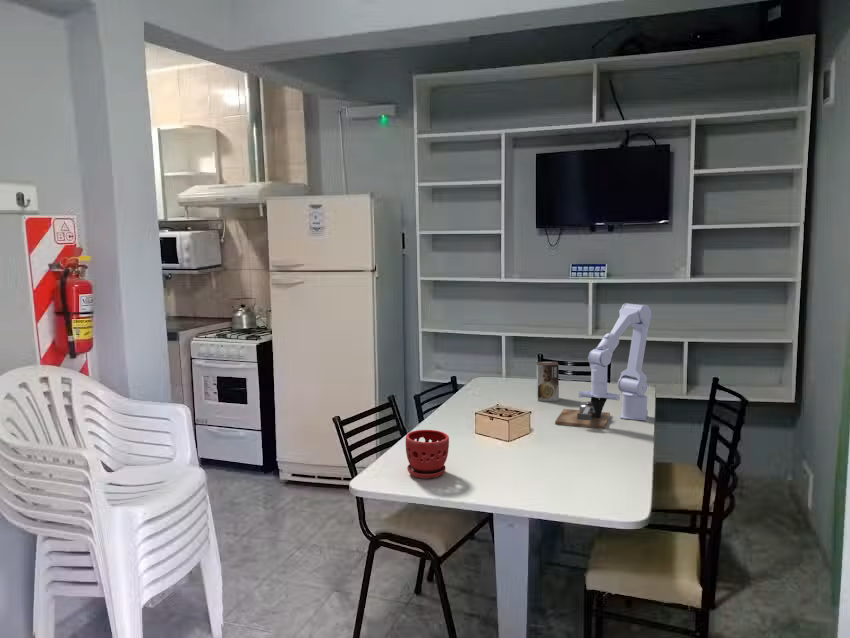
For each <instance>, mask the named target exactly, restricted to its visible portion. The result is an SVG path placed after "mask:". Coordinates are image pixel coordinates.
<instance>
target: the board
mask: <svg viewBox="0 0 850 638" xmlns="http://www.w3.org/2000/svg"><path fill="white" fill-rule="evenodd" d="M578 413H580V409H571V408H570V409H569V408H563V409H562V410H561V412H560V413H559V415H558V416H557V418H556V419H555V420H554V422H555V423H554V425H558V426H569V427H579V428H591V429H597V430H599V429H600V430H605V428H606V427H607V423H608V422H609V419H610V415H611V413H610V412H608V411H607V412H605V411H602V412H601V418H596V417H592V420H580V419H577V414H578Z"/></svg>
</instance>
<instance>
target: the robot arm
mask: <svg viewBox="0 0 850 638" xmlns="http://www.w3.org/2000/svg"><path fill="white" fill-rule="evenodd" d="M618 312H619V316H618V319H617V320H616V322H615V324H614V326H613V327H612V329H611V331H610V332H607V333H606V334H604V335H603V337H602V339H601V341H600V342H599V343H598V345H597V346H596V347H595V348H594V349H592V350H590V351H589V353H588V356H587V360H588V363H589V368H590V369H591V371H590V373H591V374H590V391H586V390H585V391H582V390H581V391H578V398H587V399H588V398H589V399H590V402H591V403H592V405H593V407H594V410H595V413H596V418H601V412H603V408H604V407H605V404H606V402H607V400H613V401H618V402H619V401H620V400H621V398H620V395H621V396H622V400H621V413H620V416H619V418H620V419H622V420H623V419H626V420H635V421H646V420H647V418H648V414H649V413H648V411H649V410H648V395H645V394H646V393H647V390H648V383H647V380H648V377H647V375H646V374H645V373H644V372H643V371H642V370H643V369H642V368H643V364H644V356H645V350H646V346H647V345H646V344H647V340H648V339H647V338H648V331H649V327H650V324H651V318H652V310H651V308H650V306H649V305H647V304H635V303H629V302H625V303H623V304H622V306H621V308H620V309H619V311H618ZM629 326H631V327H632V335H631V341H630V348H629V354H628V360H627V366H626V367H627V368H626V369H624V370H623V371H621V372H620V376H619V379H618V380H617V388H618V390H619V391H620V394H619V393H618V394H617V393H613V392H608V367H609V366H608V365H610V364H611V362H612V357H613V354H614V353H613V352H614V351H615V349H616V348H617V347H618V345H619V344H620V339H619V338H620V337H621V336H622V334H623V333H624V332H625V331H626V329H627V328H628V327H629Z"/></svg>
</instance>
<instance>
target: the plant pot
mask: <svg viewBox="0 0 850 638" xmlns="http://www.w3.org/2000/svg"><path fill="white" fill-rule="evenodd" d="M421 438H423V439H424V441H420V439H421ZM430 440H431V441H430ZM449 446H450V437H449V435H448V434H447V433H445V432H443V431H440V430H434V429H418V430H413V431H410V432H408V433H407V434H406V435H405V453H406V458H407V461H408V465H407V466H406V470H407V472H408V473H409V474H410V475H412V476H413V477H415V478H419V479H434V478H438V477H440V476H442V475H443V474H444V473H445V471H446V466H445V463H446V461H447V458H448V455H449Z"/></svg>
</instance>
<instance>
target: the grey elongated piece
mask: <svg viewBox="0 0 850 638" xmlns="http://www.w3.org/2000/svg"><path fill="white" fill-rule="evenodd" d="M579 410H580V413H578V414H577V419H580V420H592V417H596V413H595V410H594V407H593V405H592V403H591V400H590V401H583V402H580V403H579Z"/></svg>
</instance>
